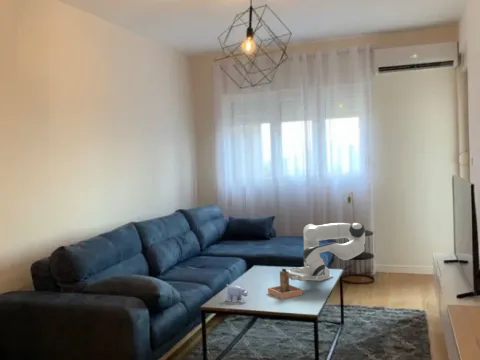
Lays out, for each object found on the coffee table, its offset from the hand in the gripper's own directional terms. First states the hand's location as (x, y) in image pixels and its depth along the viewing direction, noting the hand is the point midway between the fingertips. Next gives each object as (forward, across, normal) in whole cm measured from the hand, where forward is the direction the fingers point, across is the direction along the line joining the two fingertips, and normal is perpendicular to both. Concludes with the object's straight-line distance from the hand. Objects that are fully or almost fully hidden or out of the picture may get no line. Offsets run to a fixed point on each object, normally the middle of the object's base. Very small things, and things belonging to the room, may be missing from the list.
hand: (286, 277), depth 315 cm
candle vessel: (+2, 0, -11) cm, 11 cm away
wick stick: (+2, 0, -10) cm, 10 cm away
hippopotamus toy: (+31, +14, -11) cm, 36 cm away
